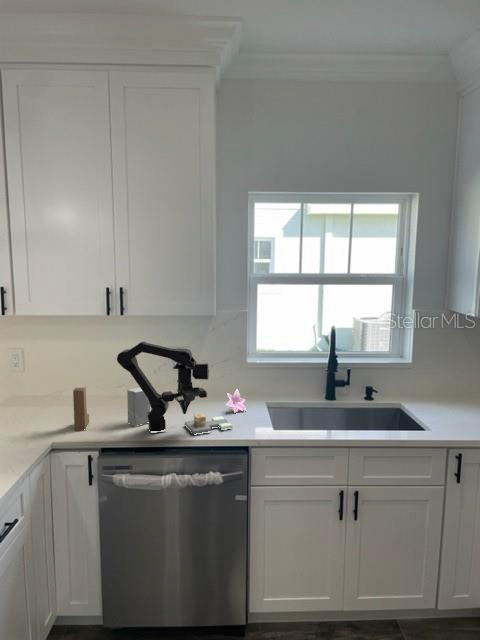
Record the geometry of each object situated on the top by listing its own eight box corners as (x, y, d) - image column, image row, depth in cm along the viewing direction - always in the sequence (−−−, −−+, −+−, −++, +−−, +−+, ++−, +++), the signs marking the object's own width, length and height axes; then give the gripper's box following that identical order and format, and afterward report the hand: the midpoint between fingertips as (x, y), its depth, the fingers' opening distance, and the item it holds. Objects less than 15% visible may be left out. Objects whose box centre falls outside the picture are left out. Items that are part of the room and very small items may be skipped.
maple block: (197, 426, 189) (197, 418, 189) (194, 423, 193) (194, 415, 192) (205, 425, 191) (205, 416, 190) (202, 422, 194) (202, 413, 194)
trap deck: (193, 435, 185) (193, 431, 184) (184, 426, 195) (184, 421, 195) (232, 429, 192) (232, 425, 192) (221, 420, 203) (221, 416, 203)
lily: (221, 416, 211) (229, 402, 207) (218, 400, 221) (226, 386, 217) (243, 421, 215) (252, 407, 211) (239, 405, 225) (247, 391, 221)
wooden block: (79, 423, 196) (77, 384, 194) (89, 423, 197) (88, 384, 195) (74, 430, 188) (72, 390, 185) (85, 430, 188) (83, 390, 186)
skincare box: (135, 427, 193) (134, 392, 190) (126, 423, 197) (125, 389, 195) (151, 422, 199) (151, 389, 197) (142, 418, 204) (142, 385, 201)
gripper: (168, 385, 175) (168, 423, 177) (211, 381, 183) (211, 417, 185) (161, 379, 185) (161, 414, 187) (202, 375, 193) (202, 409, 195)
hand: (184, 413), depth 188 cm, fingers closed
